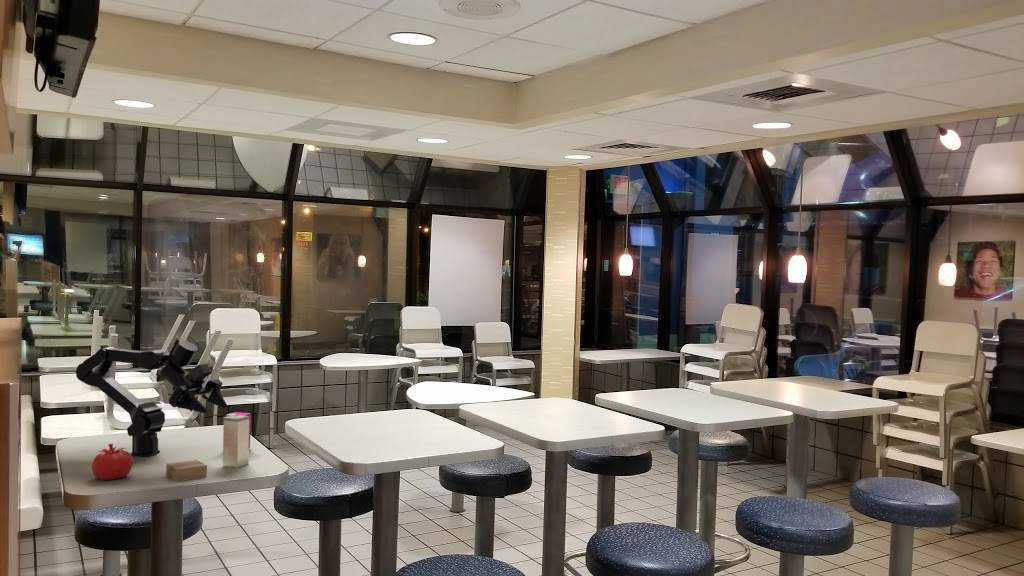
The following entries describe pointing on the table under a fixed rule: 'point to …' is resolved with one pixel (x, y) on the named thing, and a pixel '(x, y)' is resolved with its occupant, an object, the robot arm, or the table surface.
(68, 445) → the table surface
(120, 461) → the red tomato
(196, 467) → the walnut block
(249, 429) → the supplement box
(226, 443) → the white tall block
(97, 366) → the robot arm
